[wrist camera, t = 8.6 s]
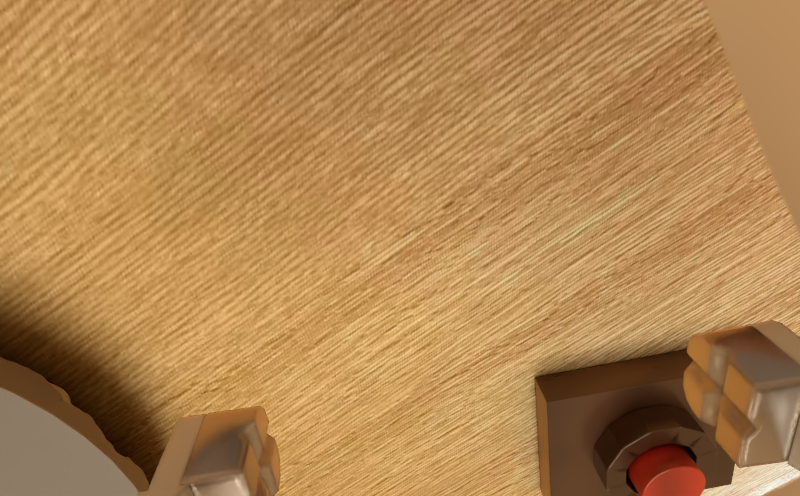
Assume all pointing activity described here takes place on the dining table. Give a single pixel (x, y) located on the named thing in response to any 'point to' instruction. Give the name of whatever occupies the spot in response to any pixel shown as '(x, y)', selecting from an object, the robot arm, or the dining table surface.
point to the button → (666, 472)
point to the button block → (619, 425)
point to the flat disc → (55, 443)
